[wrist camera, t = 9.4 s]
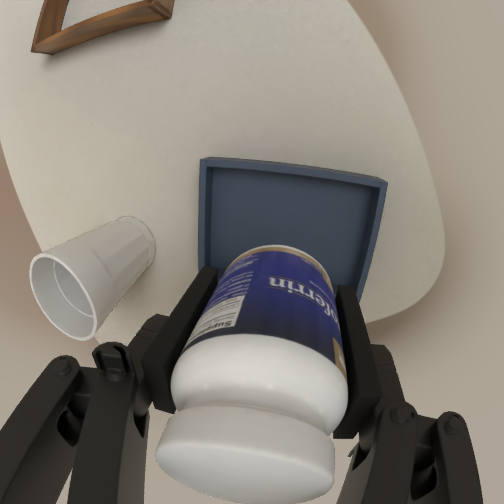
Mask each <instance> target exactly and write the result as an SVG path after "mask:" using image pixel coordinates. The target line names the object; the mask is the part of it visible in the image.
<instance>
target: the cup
mask: <svg viewBox="0 0 504 504" xmlns="http://www.w3.org/2000/svg"><path fill="white" fill-rule="evenodd" d="M155 251H156V248H155V242H154V238H153V236H152V234H151V232H150V230H149V229H148V228H147V226H146V225H145V224H144V223H142V222H141V221H140V220H138V219H136V218H134V217H129V216H124V217H120V218H118V219H117V220H115V221H113V222H111V223H108V224H106V225H103V226H101V227H99V228H96V229H94V230H92V231H89V232H87V233H85V234H82V235H80V236H78V237H76V238H73V239H71V240H69V241H67V242H64V243H62V244H60V245H58V246H55V247H53V248H51V249H49V250H47V251H44V252H42V253H40V254H38V255H36V256H35V257H34V259H33V260H32V262H31V265H30V283H31V287H32V290H33V293H34V296H35V298H36V300H37V302H38V304H39V306H40V308H41V309H42V311H43V312H44V314H45V315H46V317H47V318H48V319H49V320H50V321H51V322H52V324H53V325H54V326H55V327H57V328H58V329H59V330H60V331H61V332H63V333H64V334H66V335H67V336H69V337H71V338H73V339H77V340H82V341H84V340H89V339H91V338H92V337H93V336H94V335H95V334H96V332H97V331H98V329H99V328H100V327H101V325H102V324H103V322H104V321H105V320H106V318H107V317H108V315H109V314H110V313H111V311H112V310H113V309H114V308H115V306H116V305H117V304H118V302H119V301H120V300H121V299H122V297H123V296H124V295H125V293H126V292H127V291H128V290H129V288H130V287H131V286H132V285H133V283H134V282H135V281H136V280H137V279H138V277H139V276H140V275H141V274H142V272H143V271H144V270H145V269H146V268H147V267H148V266H149V265H150V264H151V263H152V261H153V260H154V257H155Z"/></svg>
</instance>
